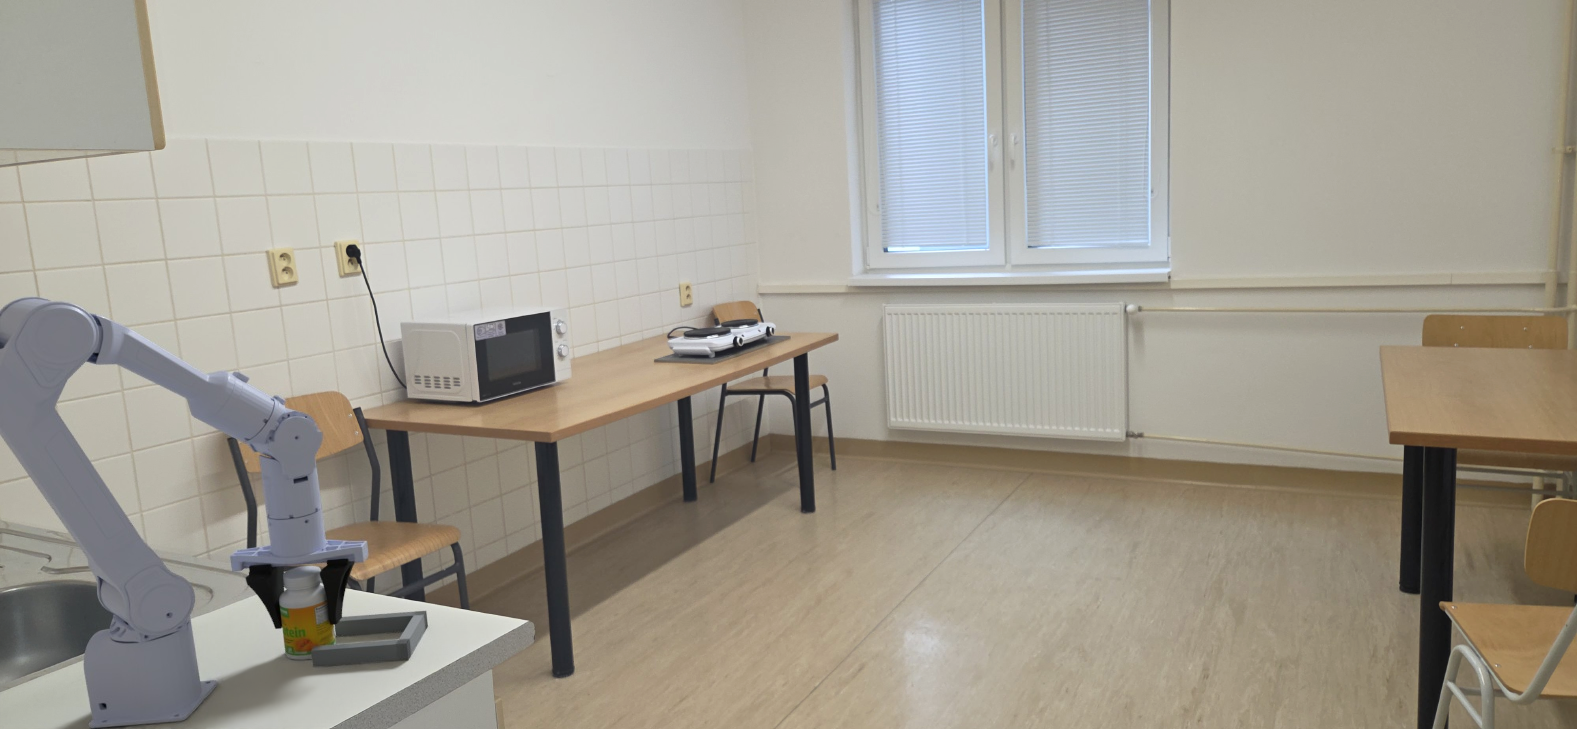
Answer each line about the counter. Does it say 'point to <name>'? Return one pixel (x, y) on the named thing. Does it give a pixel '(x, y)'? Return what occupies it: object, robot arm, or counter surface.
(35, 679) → the counter surface
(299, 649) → the supplement bottle
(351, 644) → the gray u-shaped bracket
